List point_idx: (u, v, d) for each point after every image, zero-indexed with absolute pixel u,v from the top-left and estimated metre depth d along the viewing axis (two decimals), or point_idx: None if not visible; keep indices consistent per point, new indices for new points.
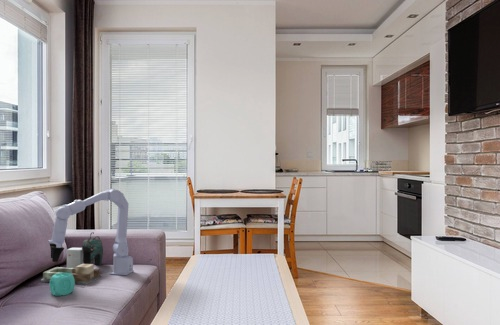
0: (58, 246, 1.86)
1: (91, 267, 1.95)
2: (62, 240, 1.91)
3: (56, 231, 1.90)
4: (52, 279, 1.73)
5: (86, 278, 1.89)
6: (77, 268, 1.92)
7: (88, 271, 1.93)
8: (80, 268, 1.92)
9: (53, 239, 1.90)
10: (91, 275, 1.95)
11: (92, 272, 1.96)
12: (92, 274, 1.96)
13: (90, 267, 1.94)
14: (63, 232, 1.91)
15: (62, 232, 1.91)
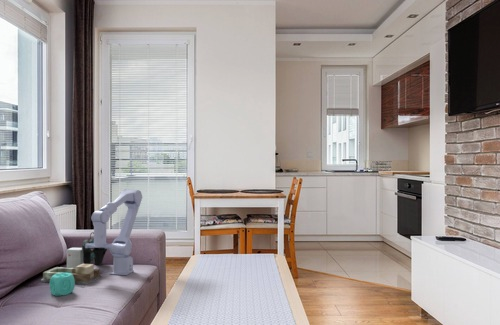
0: (113, 248, 1.92)
1: (91, 267, 1.95)
2: None
3: (101, 235, 1.91)
4: (52, 279, 1.73)
5: (86, 278, 1.89)
6: (77, 268, 1.92)
7: (88, 271, 1.93)
8: (80, 268, 1.92)
9: (101, 243, 1.91)
10: (91, 275, 1.95)
11: (92, 272, 1.96)
12: (92, 274, 1.96)
13: (90, 267, 1.94)
14: None
15: None
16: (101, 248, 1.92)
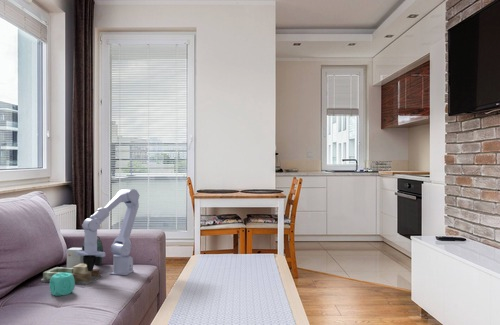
0: (104, 255, 1.93)
1: None
2: None
3: (90, 243, 1.92)
4: (52, 279, 1.73)
5: (86, 278, 1.89)
6: (75, 268, 1.92)
7: (86, 271, 1.93)
8: (78, 268, 1.92)
9: (91, 251, 1.92)
10: None
11: (89, 272, 1.96)
12: (90, 274, 1.96)
13: None
14: (96, 242, 1.95)
15: (96, 242, 1.95)
16: (92, 256, 1.93)
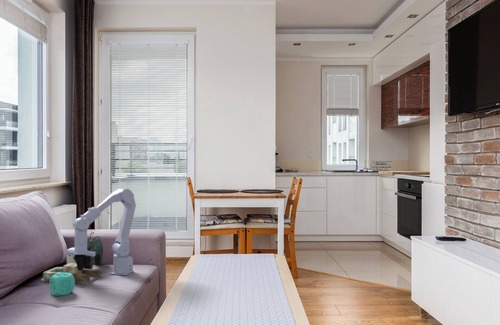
0: (94, 255, 1.94)
1: None
2: (86, 249, 1.97)
3: (78, 242, 1.92)
4: (52, 279, 1.73)
5: (86, 278, 1.89)
6: (65, 267, 1.93)
7: (76, 270, 1.94)
8: (68, 267, 1.93)
9: (81, 250, 1.93)
10: None
11: (79, 271, 1.97)
12: (80, 273, 1.97)
13: None
14: None
15: None
16: (82, 255, 1.94)
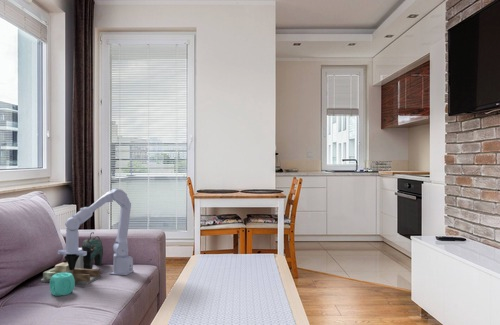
0: (85, 254, 1.95)
1: None
2: (78, 249, 1.97)
3: (69, 242, 1.93)
4: (52, 279, 1.73)
5: (86, 278, 1.89)
6: (56, 267, 1.94)
7: (67, 270, 1.95)
8: (59, 267, 1.94)
9: (72, 250, 1.93)
10: None
11: (71, 270, 1.98)
12: None
13: None
14: (78, 241, 1.97)
15: (78, 241, 1.97)
16: (73, 255, 1.95)
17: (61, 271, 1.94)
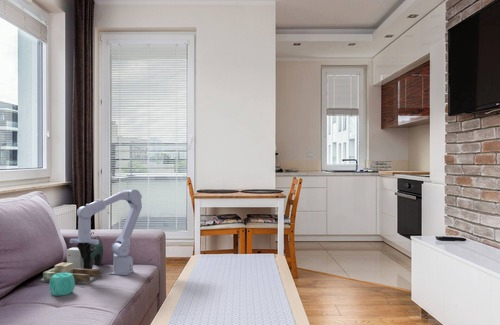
0: (97, 243, 1.95)
1: (70, 266, 1.97)
2: None
3: (82, 230, 1.93)
4: (52, 279, 1.73)
5: (86, 278, 1.89)
6: (56, 267, 1.94)
7: (67, 270, 1.95)
8: (59, 267, 1.94)
9: (85, 238, 1.93)
10: None
11: (71, 270, 1.98)
12: None
13: (69, 266, 1.96)
14: (90, 230, 1.97)
15: (90, 230, 1.97)
16: (85, 243, 1.95)
17: (61, 271, 1.94)
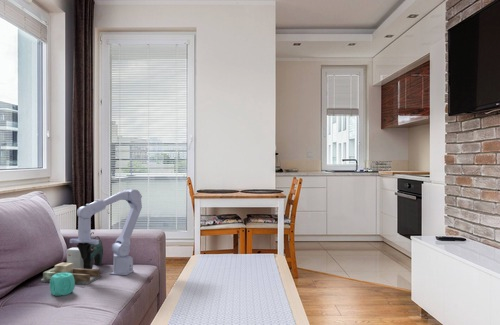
0: (97, 243, 1.95)
1: (70, 266, 1.97)
2: None
3: (82, 230, 1.93)
4: (52, 279, 1.73)
5: (86, 278, 1.89)
6: (56, 267, 1.94)
7: (67, 270, 1.95)
8: (59, 267, 1.94)
9: (85, 238, 1.93)
10: None
11: (71, 270, 1.98)
12: None
13: (69, 266, 1.96)
14: (90, 230, 1.97)
15: (90, 230, 1.97)
16: (85, 243, 1.95)
17: (61, 271, 1.94)
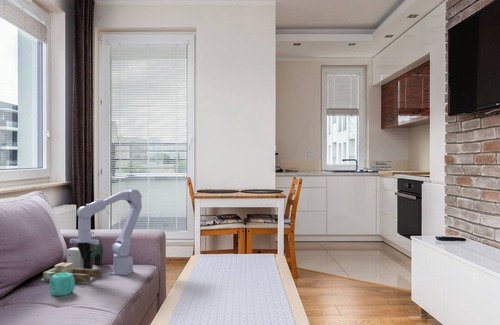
0: (97, 243, 1.95)
1: (70, 266, 1.97)
2: None
3: (82, 230, 1.93)
4: (52, 279, 1.73)
5: (86, 278, 1.89)
6: (56, 267, 1.94)
7: (67, 270, 1.95)
8: (59, 267, 1.94)
9: (85, 238, 1.93)
10: None
11: (71, 270, 1.98)
12: None
13: (69, 266, 1.96)
14: (90, 230, 1.97)
15: (90, 230, 1.97)
16: (85, 243, 1.95)
17: (61, 271, 1.94)
